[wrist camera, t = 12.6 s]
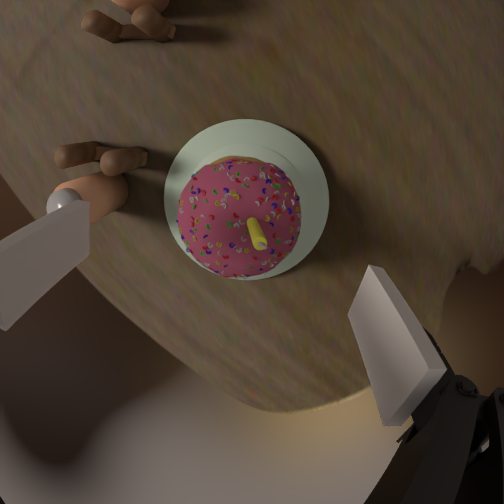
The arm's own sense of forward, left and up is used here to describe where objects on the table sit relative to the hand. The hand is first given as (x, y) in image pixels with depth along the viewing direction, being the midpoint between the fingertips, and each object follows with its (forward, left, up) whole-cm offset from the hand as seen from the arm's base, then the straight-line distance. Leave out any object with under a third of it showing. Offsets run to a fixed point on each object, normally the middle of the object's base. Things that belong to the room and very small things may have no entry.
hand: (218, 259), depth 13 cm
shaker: (-13, -2, -14) cm, 19 cm away
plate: (0, 0, -14) cm, 14 cm away
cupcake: (0, 0, -12) cm, 12 cm away
